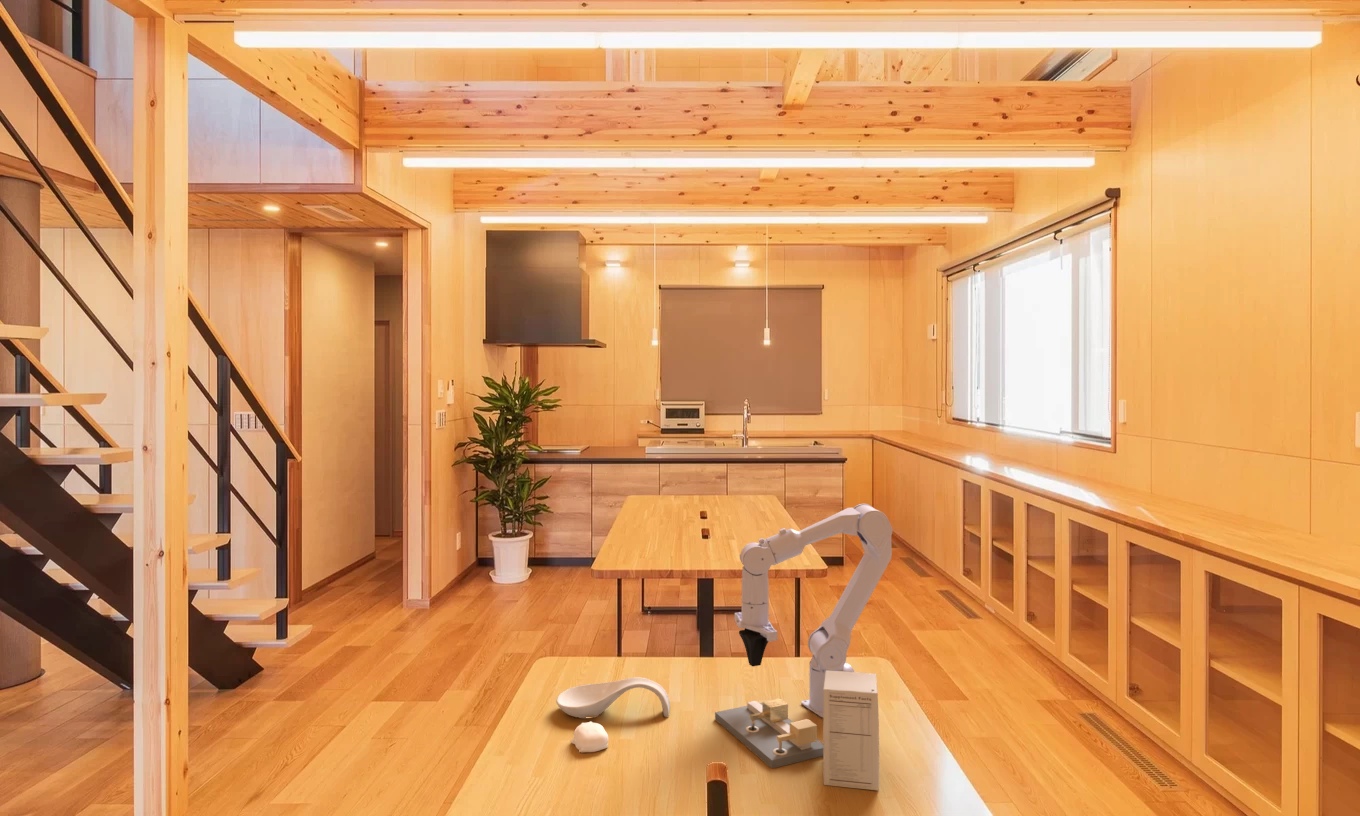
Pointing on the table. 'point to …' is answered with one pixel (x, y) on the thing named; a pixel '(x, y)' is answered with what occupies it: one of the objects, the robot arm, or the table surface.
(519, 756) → the table surface
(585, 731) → the white rounded lump
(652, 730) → the table surface
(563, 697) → the spoon rest
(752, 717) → the sliding trammel head
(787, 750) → the plate
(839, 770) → the supplement box
